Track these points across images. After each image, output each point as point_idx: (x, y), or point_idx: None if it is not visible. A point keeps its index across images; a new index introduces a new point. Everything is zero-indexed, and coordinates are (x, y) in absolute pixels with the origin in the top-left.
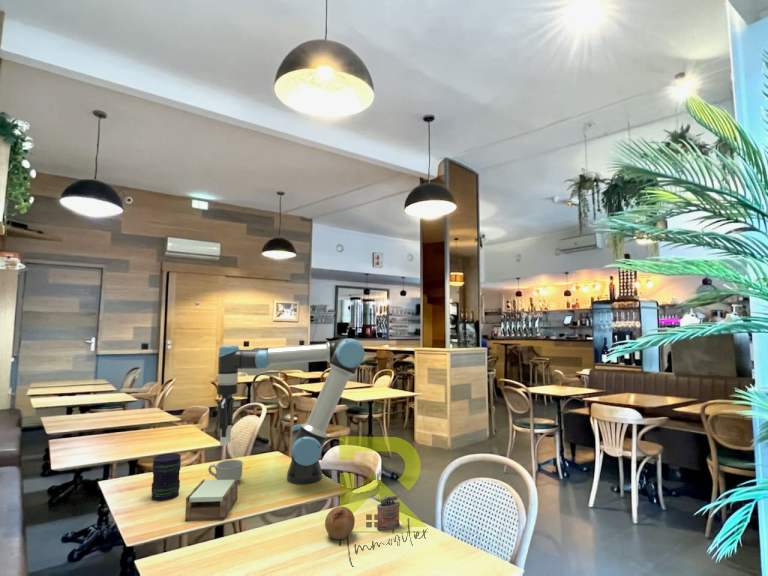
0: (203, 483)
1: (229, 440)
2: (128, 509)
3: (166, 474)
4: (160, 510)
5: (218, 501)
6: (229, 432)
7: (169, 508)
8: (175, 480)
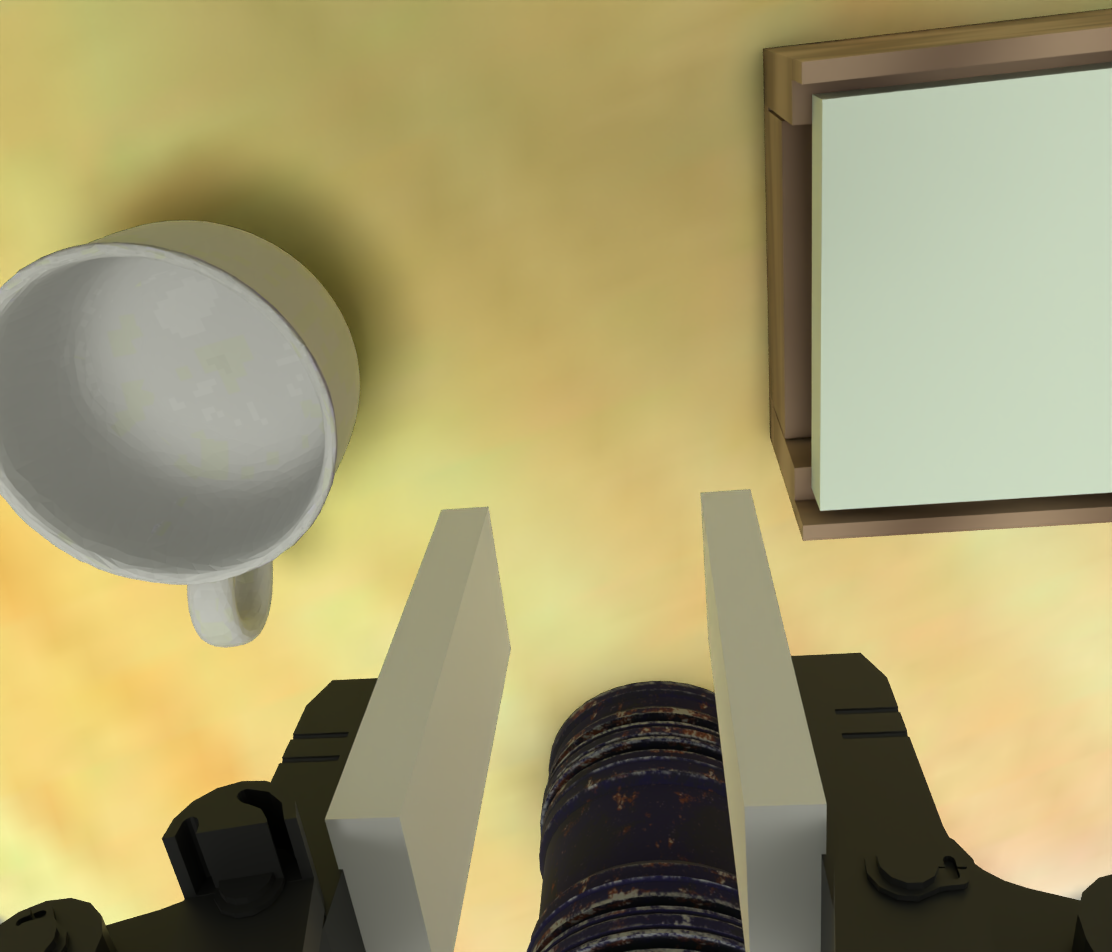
0: (944, 488)
1: (484, 544)
2: None
3: None
4: (983, 691)
5: None
6: (448, 681)
7: (947, 641)
8: (706, 807)
